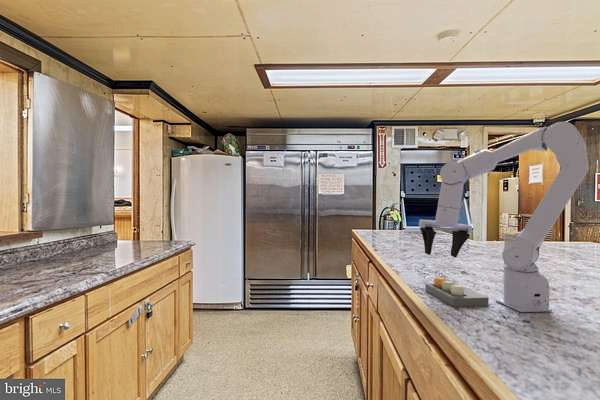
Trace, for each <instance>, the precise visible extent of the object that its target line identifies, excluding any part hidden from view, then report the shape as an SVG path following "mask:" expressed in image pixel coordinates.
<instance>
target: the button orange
mask: <svg viewBox="0 0 600 400" xmlns="http://www.w3.org/2000/svg"><path fill="white" fill-rule="evenodd" d="M433 279H434V280H433V284H434V286H435V287H437V288H439V287H442V281H447V279H446V278H445V277H441V276H440V277H437V276H436V277H434V278H433Z"/></svg>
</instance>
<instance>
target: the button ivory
mask: <svg viewBox="0 0 600 400" xmlns="http://www.w3.org/2000/svg"><path fill="white" fill-rule="evenodd" d="M460 285H461V284H459V285H451V295H453V296H464V287H465V286H464V285H461V286H460Z"/></svg>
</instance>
